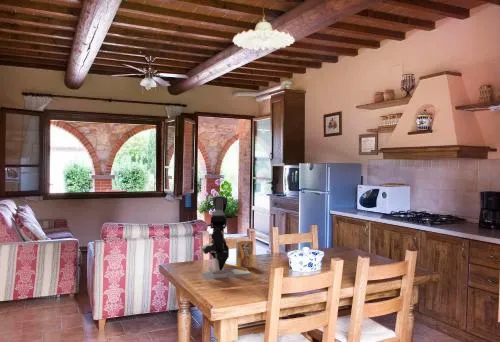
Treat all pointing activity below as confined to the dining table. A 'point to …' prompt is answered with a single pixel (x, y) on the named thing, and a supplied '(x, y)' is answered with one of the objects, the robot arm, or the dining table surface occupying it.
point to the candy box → (244, 253)
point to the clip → (235, 267)
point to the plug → (216, 267)
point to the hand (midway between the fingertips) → (218, 268)
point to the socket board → (226, 274)
